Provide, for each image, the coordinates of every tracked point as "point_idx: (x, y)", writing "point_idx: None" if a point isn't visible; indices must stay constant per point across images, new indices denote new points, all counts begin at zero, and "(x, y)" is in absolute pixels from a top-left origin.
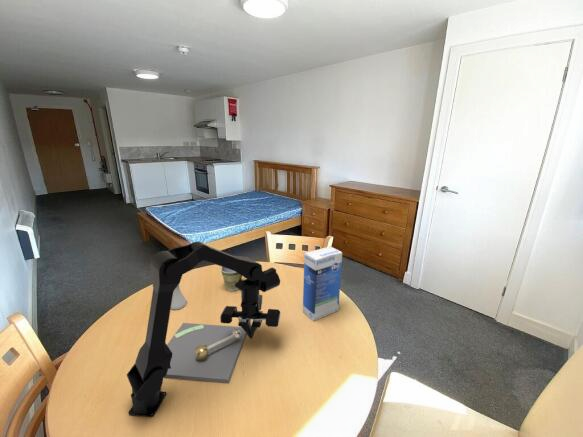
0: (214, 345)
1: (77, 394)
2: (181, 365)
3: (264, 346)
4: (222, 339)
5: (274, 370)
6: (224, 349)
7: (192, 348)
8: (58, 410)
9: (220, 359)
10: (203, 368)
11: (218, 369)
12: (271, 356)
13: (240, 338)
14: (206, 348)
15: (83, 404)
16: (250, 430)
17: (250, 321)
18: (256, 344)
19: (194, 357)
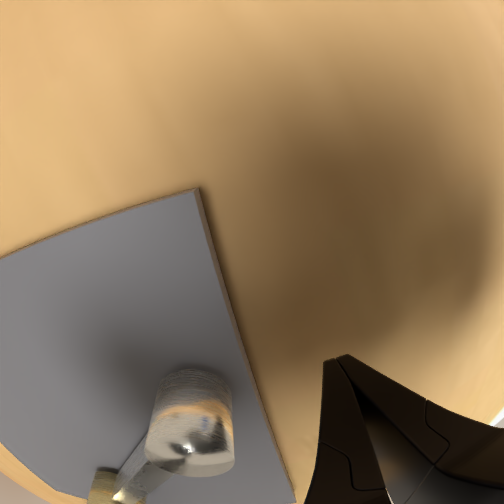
0: (135, 496)
1: (26, 485)
2: None
3: (415, 317)
4: (134, 478)
5: (450, 399)
6: None
7: (45, 446)
8: (42, 497)
9: (205, 482)
10: (174, 501)
11: (234, 499)
12: (448, 357)
13: (231, 402)
14: None
15: (52, 499)
16: None
17: (388, 502)
18: (359, 326)
19: None
